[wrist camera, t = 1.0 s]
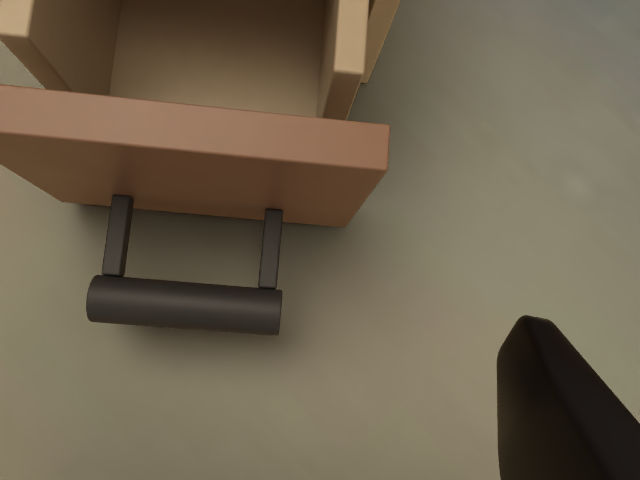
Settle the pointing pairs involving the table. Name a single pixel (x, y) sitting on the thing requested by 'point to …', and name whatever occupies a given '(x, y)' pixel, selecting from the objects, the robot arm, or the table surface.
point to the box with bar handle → (192, 131)
